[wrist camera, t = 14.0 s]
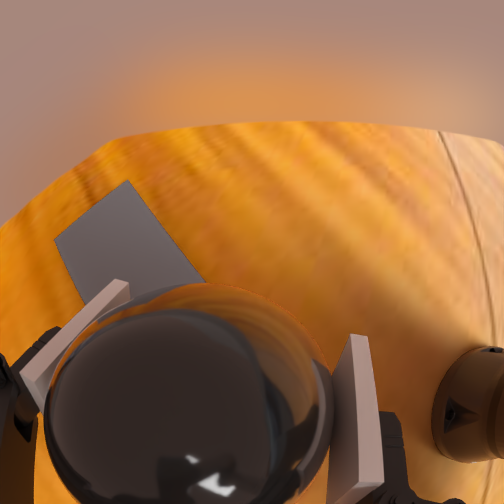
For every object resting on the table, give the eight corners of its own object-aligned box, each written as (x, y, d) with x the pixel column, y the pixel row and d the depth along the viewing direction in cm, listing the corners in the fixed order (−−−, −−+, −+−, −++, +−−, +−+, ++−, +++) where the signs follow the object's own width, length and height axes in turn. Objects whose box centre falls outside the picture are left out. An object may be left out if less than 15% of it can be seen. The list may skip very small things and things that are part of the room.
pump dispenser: (160, 467, 15) (2, 582, 1) (146, 315, 19) (-42, 205, 5) (321, 458, 15) (435, 613, 1) (303, 300, 19) (396, 128, 5)
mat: (130, 183, 38) (127, 179, 37) (220, 300, 33) (219, 298, 32) (57, 242, 35) (53, 239, 35) (129, 371, 30) (125, 371, 29)
